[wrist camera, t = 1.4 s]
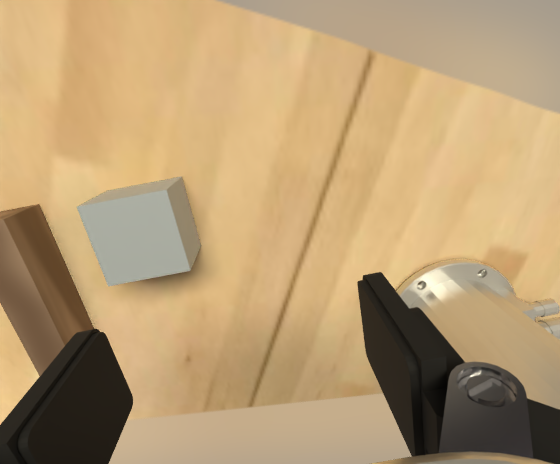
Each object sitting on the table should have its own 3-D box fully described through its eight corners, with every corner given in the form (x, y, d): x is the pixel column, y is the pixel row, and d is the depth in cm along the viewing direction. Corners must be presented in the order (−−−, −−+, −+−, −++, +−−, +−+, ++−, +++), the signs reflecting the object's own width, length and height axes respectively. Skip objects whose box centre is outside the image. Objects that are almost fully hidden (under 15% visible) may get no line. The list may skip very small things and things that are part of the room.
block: (182, 176, 27) (166, 189, 22) (201, 244, 29) (190, 270, 24) (108, 190, 27) (76, 206, 22) (132, 258, 29) (108, 286, 24)
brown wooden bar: (38, 204, 27) (3, 219, 23) (109, 364, 32) (90, 397, 28) (1, 211, 27) (-41, 227, 23) (78, 370, 32) (55, 404, 28)
